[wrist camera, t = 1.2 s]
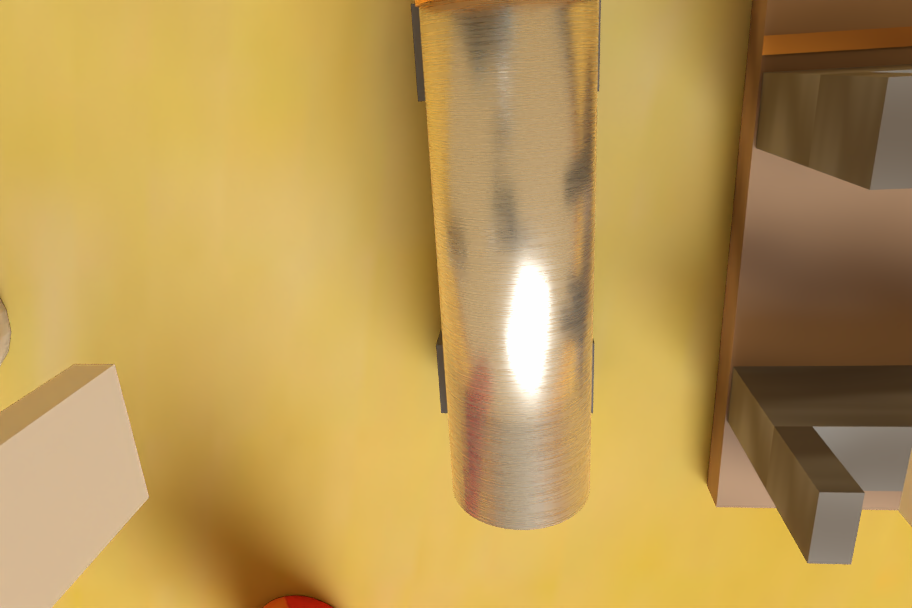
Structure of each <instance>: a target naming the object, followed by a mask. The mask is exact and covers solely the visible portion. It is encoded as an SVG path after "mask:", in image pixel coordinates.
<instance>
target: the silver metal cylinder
mask: <svg viewBox="0 0 912 608" xmlns="http://www.w3.org/2000/svg"><path fill="white" fill-rule="evenodd" d="M415 6H416V7H419V16H420V30H421V44H422V58H423V72H424V86H425V100H426V114H427V128H428V143H429V157H430V171H431V185H432V199H433V213H434V227H435V241H436V255H437V269H438V283H439V297H440V311H441V325H442V340H443V354H444V368H445V382H446V396H447V410H448V424H449V438H450V452H451V466H452V480H453V492H454V496H455V498H456V500H457V502H458V503H459V505H460V506H461V507H462V508H463V509H464V510H465V511H466V512H467V513H468V514H470V515H471V516H472V517H474V518H476V519H478V520H479V521H482V522H484V523H486V524H489V525H493V526H496V527H500V528H505V529H514V530H530V529H539V528H545V527H549V526H553V525H555V524H558V523H561V522H563V521H565V520H567V519H569V518H570V517H572V516H573V515H575V514H576V513H577V512H578V511H579V510H580V509H581V508H582V507H583V506H584V504H585V503H586V501H587V499H588V496H589V490H590V446H591V394H592V342H593V291H594V239H595V187H596V136H597V84H598V33H599V0H415Z"/></svg>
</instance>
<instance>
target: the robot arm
mask: <svg viewBox="0 0 912 608" xmlns="http://www.w3.org/2000/svg"><path fill="white" fill-rule="evenodd" d="M148 498H149V495H148V491H147V487H146V483H145V479H144V475H143V472H142V468H141V464H140V460H139V456H138V452H137V449H136V445H135V441H134V437H133V433H132V429H131V425H130V422H129V418H128V414H127V410H126V406H125V402H124V398H123V395H122V391H121V387H120V383H119V379H118V375H117V372H116V368H115V364H74V365H72V366H71V367H69V368H68V369H66V370H64V371H63V372H61V373H60V374H58V375H57V376H55V377H54V378H52V379H51V380H49V381H47V382H46V383H44V384H43V385H41V386H40V387H38V388H37V389H35V390H34V391H32V392H31V393H29V394H27V395H26V396H24V397H23V398H21V399H20V400H18V401H17V402H15V403H14V404H12V405H10V406H9V407H7V408H6V409H4V410H3V411H1V412H0V608H52V607H53V605H54V604H55V603H56V602H57V601H58V600H59V599H60V598H61V596H62V595H63V594H64V593H65V592H66V591H67V590H68V589H69V587H70V586H71V585H72V584H73V583H74V582H75V581H76V579H77V578H78V577H79V576H80V575H81V574H82V573H83V572H84V570H85V569H86V568H87V567H88V566H89V565H90V564H91V563H92V561H93V560H94V559H95V558H96V557H97V556H98V555H99V553H100V552H101V551H102V550H103V549H104V548H105V547H106V546H107V544H108V543H109V542H110V541H111V540H112V539H113V538H114V537H115V535H116V534H117V533H118V532H119V531H120V530H121V529H122V527H123V526H124V525H125V524H126V523H127V522H128V521H129V520H130V518H131V517H132V516H133V515H134V514H135V513H136V512H137V511H138V509H139V508H140V507H141V506H142V505H143V504H144V503H145V501H146V500H147V499H148ZM899 512H900V513H901V515H902V516H903V517H904V518H905V519H906V521H907V522H908V523H909V524H910V525H911V526H912V449H911V454H910V459H909V464H908V468H907V473H906V478H905V482H904V487H903V492H902V496H901V501H900V506H899Z"/></svg>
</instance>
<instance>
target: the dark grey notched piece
mask: <svg viewBox="0 0 912 608" xmlns="http://www.w3.org/2000/svg"><path fill="white" fill-rule="evenodd" d="M911 449H912V0H753V2H752V13H751V24H750V34H749V45H748V56H747V66H746V77H745V88H744V98H743V109H742V120H741V130H740V141H739V152H738V162H737V173H736V184H735V194H734V205H733V216H732V226H731V237H730V248H729V258H728V269H727V280H726V290H725V301H724V312H723V322H722V333H721V344H720V354H719V365H718V375H717V386H716V397H715V407H714V418H713V429H712V439H711V450H710V461H709V471H708V482H707V486H708V489H709V491H710V493H711V496H712V498H713V500H714V503H715V505H716V507H748V508H777V510H778V512H779V514H780V515H781V517H782V519H783V521H784V522H785V524H786V526H787V528H788V529H789V531H790V533H791V535H792V537H793V538H794V540H795V542H796V544H797V545H798V547H799V549H800V551H801V552H802V554H803V556H804V558H805V560H806V561H807V563H820V564H851V562H852V556H853V551H854V546H855V541H856V536H857V531H858V526H859V521H860V516H861V511H862V509H864V510H899V506H900V501H901V496H902V492H903V487H904V482H905V478H906V473H907V468H908V464H909V459H910V454H911Z"/></svg>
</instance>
